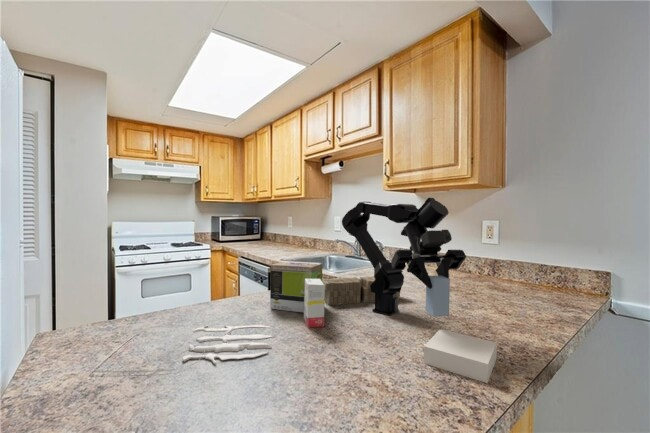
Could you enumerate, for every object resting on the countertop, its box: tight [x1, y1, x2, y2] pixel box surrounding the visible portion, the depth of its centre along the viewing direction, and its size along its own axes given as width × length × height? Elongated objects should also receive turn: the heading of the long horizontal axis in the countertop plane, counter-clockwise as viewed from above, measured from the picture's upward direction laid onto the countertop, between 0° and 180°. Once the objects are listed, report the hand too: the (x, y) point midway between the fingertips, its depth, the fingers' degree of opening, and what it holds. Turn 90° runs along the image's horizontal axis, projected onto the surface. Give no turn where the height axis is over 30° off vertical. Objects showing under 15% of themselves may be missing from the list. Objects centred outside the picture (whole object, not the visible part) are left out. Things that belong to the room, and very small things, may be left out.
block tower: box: [322, 275, 401, 306], centre depth 110 cm, size 8×8×29 cm
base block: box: [422, 328, 498, 384], centre depth 64 cm, size 12×12×4 cm
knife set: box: [90, 323, 275, 373], centre depth 71 cm, size 26×35×1 cm
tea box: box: [269, 260, 323, 314], centre depth 99 cm, size 15×10×15 cm
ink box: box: [303, 279, 325, 328], centre depth 86 cm, size 9×5×12 cm, turn 10°
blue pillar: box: [425, 275, 451, 317], centre depth 74 cm, size 4×4×9 cm
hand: (439, 287), depth 73 cm, fingers closed on blue pillar, 4 cm apart
